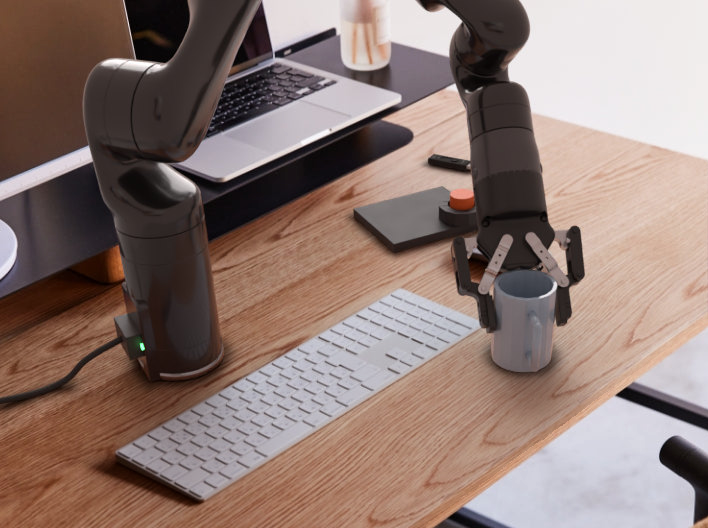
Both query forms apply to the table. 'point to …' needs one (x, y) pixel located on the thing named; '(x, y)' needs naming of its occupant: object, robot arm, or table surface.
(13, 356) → the table surface
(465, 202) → the warmer button
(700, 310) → the table surface
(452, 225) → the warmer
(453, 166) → the usb flash drive
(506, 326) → the mug
